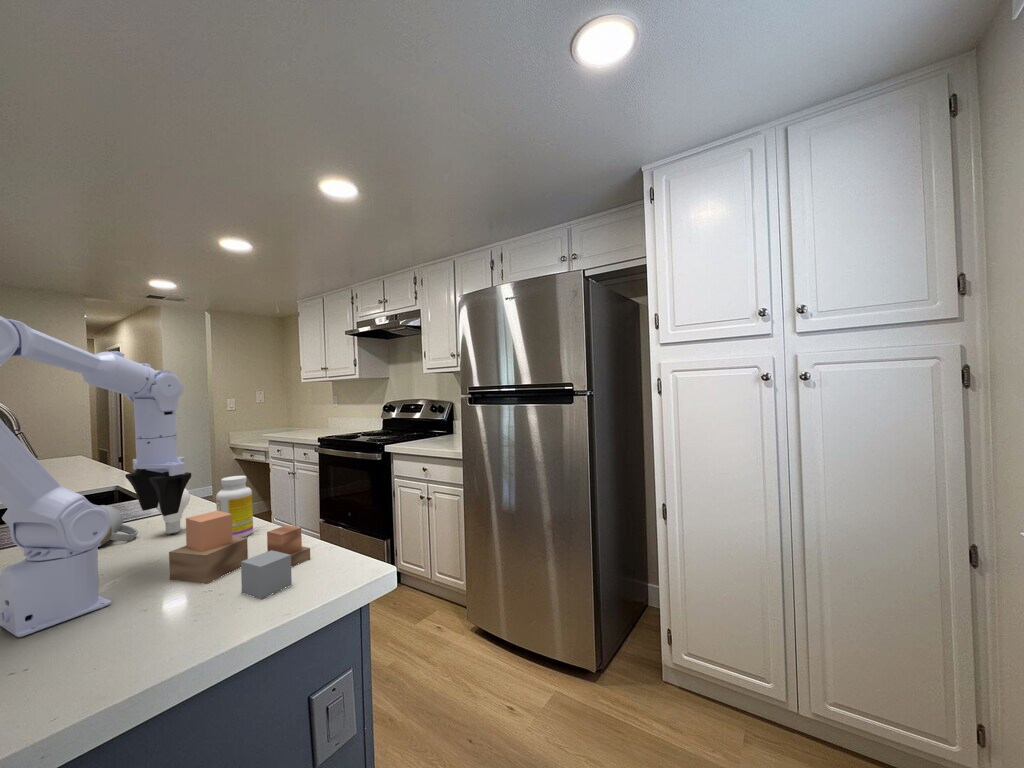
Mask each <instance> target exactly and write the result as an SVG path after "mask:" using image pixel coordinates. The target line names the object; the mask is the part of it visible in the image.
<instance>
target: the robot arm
mask: <svg viewBox="0 0 1024 768" xmlns="http://www.w3.org/2000/svg"><path fill="white" fill-rule="evenodd" d="M11 357H20V358H23V359H26V360H30V361H34V362H38V363H42V364H45V365H49V366H53V367H57V368H60V369H63V370H68V371H71V372H75V373H78V374H81V376H82V379H83V381H84V382H86V383H87V385H91V386H93V387H96V388H97V387H98V388H101V389H104V390H108V391H110V392H115V393H118V394H121V395H124V396H125V398H126V399H127V400H128V401H130V402H133V413H134V414H133V417H134V434H135V438H134V441H135V454H136V455H135V457H136V458H133V459H132V469H133V470H135V472H130V473H126V474H124V475H125V479H127V480H128V481H129V483H130V485H131V487H132V488H133V490H134V492H135V494H136V497H137V500H138V503H139V506H140V508H141V510H142V511H143V512H144V511H148V510H153V509H156V508H157V507H158V503H159V505H160V510H161V513H162V514H161V513H160V514H161V516H162V515H163V516H167V515H171V514H175V513H178V511H179V507H180V503H181V499H182V495H183V492H184V489H185V488H186V487H187V484H188V483H189V481H190V479H191V478H192V472H188V471H187V472H186V471H185V462H186V457H185V456H178V434H177V433H178V432H177V413H176V411H177V410H178V408H179V399H180V398H181V396H182V395H183V392H184V387H185V386H184V384H182V382H181V380H180V378H179V377H178V376H177V375H176V374H175V373H174V372H172V371H171V370H166V369H164V370H163V369H162V370H160V369H159V370H155V369H154V368H152V366H151V365H152V364H149V363H145V362H142V363H140V362H137V361H135V360H132V359H130V358H126V357H125V353H123V352H121V351H116V350H114V351H112V350H110V351H101V352H98V353H96V354H95V353H92V352H89V351H87V350H84V349H82V348H81V347H77V346H75V345H72V344H70V343H67V342H65V341H63V340H60V339H58V338H56V337H53V336H51V335H49V334H47V333H43V332H41V331H38V330H36V329H34V328H32V327H30V326H29V325H27V324H26V323H24V322H22V321H19V320H15V319H11V318H5V317H3V316H2V315H0V367H2V365H4V364H5V363H6V362H7V361H8V360H10V358H11ZM0 503H1V504H2V505H3V506H5V508H7V510H6V511H5V513H4V514H3V515H2V516H1V519H2V521H4V523H5V524H6V525H7V526H8V528H9V533H10V537H11V538H10V539H11V541H12V542H13V543H14V544H15V545H16V547H19V548H22V549H23V556H24V557H25V559H23V560H21V561H19V562H17V563H14V564H11V565H7V566H5V567H3V568H2V569H1V571H0V626H1V628H3V629H5V630H6V631H8V632H9V633H11V634H13V635H14V636H15V637H17V638H21V637H24V636H27V635H30V634H33V633H35V632H38V631H41V630H44V629H47V628H49V627H53V626H55V625H57V624H60V623H63V622H65V621H68V620H69V621H70V620H71V619H74V618H76V617H80V616H82V615H85V614H88V613H91V612H93V611H97V610H98V609H101V608H102V609H103V607H108V606H110V605H111V604H112V600H111V599H109V598H107V597H104V596H101V595H100V594H99V593H100V591H99V589H100V588H99V556H98V555H99V552H98V547H101V546H102V545H101V541H102V540H103V539H104V538H105V536H106V535H107V533H108V531H109V529H110V526H111V517H110V514H109V512H108V511H107V510H106V509H105V508H103V507H101V506H99V505H97V504H94V503H92V502H91V501H89V500H88V499H87V498H86V497H85V496H84V495H83V494H80V493H77V492H76V491H74V490H71V489H68V488H66V487H64V486H62V485H61V484H60V483H59V482H58V481H57V480H56V479H55V477H53V475H52V474H50V472H49V471H48V470H47V469H46V467H44V466H43V464H42V463H41V462H40V461H39V459H37V458H36V457H35V456H34V454H33V453H32V452H30V450H29V449H28V448H27V447H26V446H25V445H24V443H23V442H22V441H21V440H20V439H19V437H17V436H16V435H15V434H14V433H13V431H11V430H10V428H9V427H8V426H7V425H6V424H5V422H3V421H2V420H1V419H0ZM163 516H162V517H163Z"/></svg>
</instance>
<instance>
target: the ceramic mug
mask: <svg viewBox="0 0 1024 768" xmlns="http://www.w3.org/2000/svg"><path fill="white" fill-rule="evenodd" d="M98 506H101V507H103V508H105V509H106V510H107V511H108V512H109V514H110V517H111V526H110V529H109V531H108V533H107V535H106V536H105V538H104V539H103V540H102V541H101V546H103V545H105V544H106V543H107V542H109V541H115V542H131V541H133V540H134V539H136V536H137V534H138V532H139V531H138V530H137V529H136V528H135V527H133V526H130V525H128V524H127V525H126V524H123V522H124V519H123V515H122V513H121V512H120V510H118V509H117V508H115V507H114V506H111V505H105V504H101V505H98ZM118 532H121V533H118ZM132 539H133V540H132ZM130 540H131V541H130Z"/></svg>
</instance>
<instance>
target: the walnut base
mask: <svg viewBox="0 0 1024 768" xmlns="http://www.w3.org/2000/svg"><path fill="white" fill-rule="evenodd" d="M248 549H249V548H248V537H243V538H240V537H232V542H231V543H228V544H224V545H221V546H218V547H215V548H212V549H208V550H205V551H202V552H200V551H197V550H194V549H191V548H188V547H186V545H184V546H181V547H178V548H176V549H174V550H171V551H169V552H168V561H169V562H168V565H169V568H168V569H169V570H168V571H169V581H176V582H184V583H192V584H193V583H195V584H202V583H204V585H208V584H210V583H212V582H214V581H216V580H218V579H220V578H222V577H224V576H226V575H228V574H227V573H229V572H231V573H232V571H233V572H234V570H235V571H237V570H238V568H239V569H241V568H240V567H241V561H244V560H247V559H249V555H248V554H249V552H248ZM236 569H237V570H236ZM225 574H226V575H225ZM229 574H230V573H229ZM223 575H224V576H223ZM221 576H222V577H221ZM213 580H214V581H213Z"/></svg>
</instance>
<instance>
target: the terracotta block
mask: <svg viewBox="0 0 1024 768" xmlns="http://www.w3.org/2000/svg"><path fill="white" fill-rule="evenodd" d="M185 539H186V540H185V541H186V542H185V543H186V545H185V546H186V547H188V548H191V549H194V550H197V551H200V552H202V551H205V550H208V549H212V548H215V547H218V546H221V545H224V544H228V543H231V542H232V514H229V513H225V512H221V511H217V510H215V511H211V512H210V511H209V512H206V513H202V514H197V515H195V516H190V517H186V518H185Z"/></svg>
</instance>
